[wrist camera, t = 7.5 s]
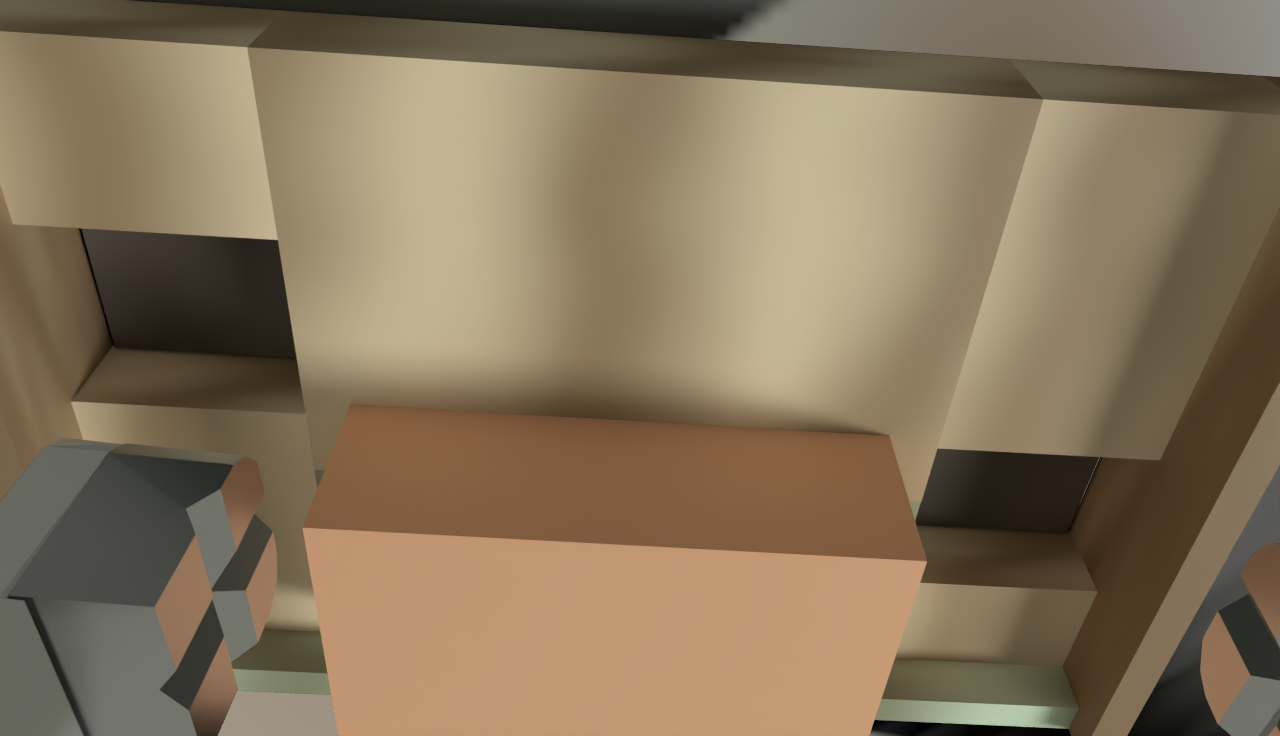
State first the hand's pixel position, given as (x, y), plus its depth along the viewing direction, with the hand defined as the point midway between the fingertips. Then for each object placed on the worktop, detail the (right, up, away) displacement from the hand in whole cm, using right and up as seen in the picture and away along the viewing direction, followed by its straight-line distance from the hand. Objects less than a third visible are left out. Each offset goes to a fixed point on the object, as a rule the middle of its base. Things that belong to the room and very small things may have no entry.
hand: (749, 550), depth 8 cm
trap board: (-1, +1, +14) cm, 14 cm away
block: (-1, -2, +14) cm, 14 cm away
